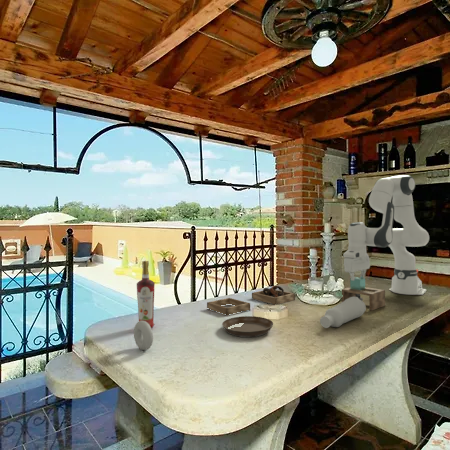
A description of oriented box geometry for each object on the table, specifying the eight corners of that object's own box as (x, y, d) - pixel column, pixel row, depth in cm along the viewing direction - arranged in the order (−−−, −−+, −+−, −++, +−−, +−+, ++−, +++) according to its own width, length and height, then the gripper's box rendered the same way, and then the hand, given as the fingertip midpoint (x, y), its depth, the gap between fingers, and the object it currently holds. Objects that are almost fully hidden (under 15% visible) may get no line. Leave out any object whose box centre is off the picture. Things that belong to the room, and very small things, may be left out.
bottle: (344, 305, 153) (311, 322, 132) (354, 291, 150) (321, 305, 129) (360, 319, 148) (328, 338, 127) (371, 305, 144) (340, 322, 123)
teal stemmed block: (355, 298, 173) (355, 277, 173) (365, 300, 169) (365, 278, 169) (350, 300, 170) (350, 278, 170) (360, 301, 166) (359, 279, 166)
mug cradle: (271, 294, 195) (270, 288, 195) (294, 299, 181) (294, 293, 181) (251, 298, 184) (251, 292, 184) (275, 304, 170) (275, 298, 170)
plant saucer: (212, 329, 132) (212, 321, 132) (249, 320, 145) (249, 312, 145) (244, 344, 116) (244, 335, 116) (284, 332, 128) (284, 323, 128)
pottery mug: (280, 296, 191) (284, 286, 187) (281, 307, 183) (286, 296, 179) (260, 291, 191) (264, 281, 187) (261, 302, 183) (265, 291, 179)
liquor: (136, 331, 130) (135, 262, 130) (137, 326, 138) (136, 260, 138) (155, 330, 132) (154, 262, 132) (155, 324, 139) (154, 260, 139)
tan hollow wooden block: (355, 300, 178) (355, 285, 178) (385, 305, 165) (385, 290, 165) (341, 304, 169) (341, 289, 169) (371, 310, 157) (371, 294, 157)
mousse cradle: (229, 304, 173) (229, 297, 173) (250, 310, 160) (250, 303, 160) (207, 309, 163) (206, 302, 163) (227, 316, 151) (227, 308, 151)
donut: (132, 347, 114) (131, 318, 114) (140, 344, 116) (140, 316, 116) (146, 355, 107) (145, 325, 107) (155, 352, 109) (154, 322, 109)
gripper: (361, 250, 179) (362, 275, 179) (341, 254, 166) (342, 281, 166) (372, 251, 174) (373, 277, 174) (352, 255, 161) (353, 282, 161)
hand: (357, 279), depth 170 cm, fingers open, 8 cm apart
